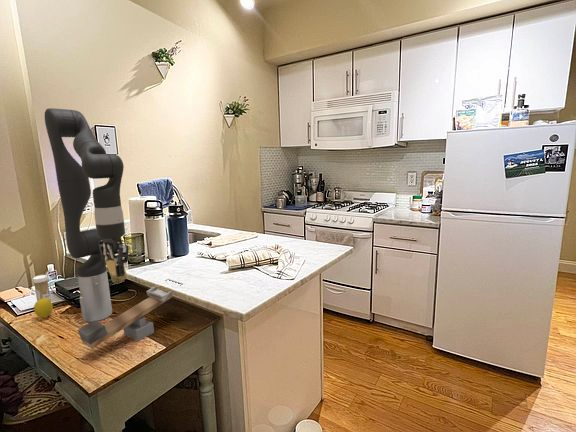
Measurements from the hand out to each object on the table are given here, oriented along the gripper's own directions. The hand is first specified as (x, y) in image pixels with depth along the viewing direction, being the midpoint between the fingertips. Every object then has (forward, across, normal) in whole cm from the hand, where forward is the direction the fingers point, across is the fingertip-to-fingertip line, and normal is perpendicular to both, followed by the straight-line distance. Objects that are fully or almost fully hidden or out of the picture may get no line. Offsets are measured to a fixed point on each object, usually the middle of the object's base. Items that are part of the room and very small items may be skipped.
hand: (116, 274), depth 97 cm
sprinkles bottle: (+24, +50, +5) cm, 56 cm away
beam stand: (+23, 0, -5) cm, 23 cm away
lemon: (+23, +41, +8) cm, 48 cm away
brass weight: (+2, 0, -1) cm, 2 cm away
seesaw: (+16, 0, -5) cm, 16 cm away
